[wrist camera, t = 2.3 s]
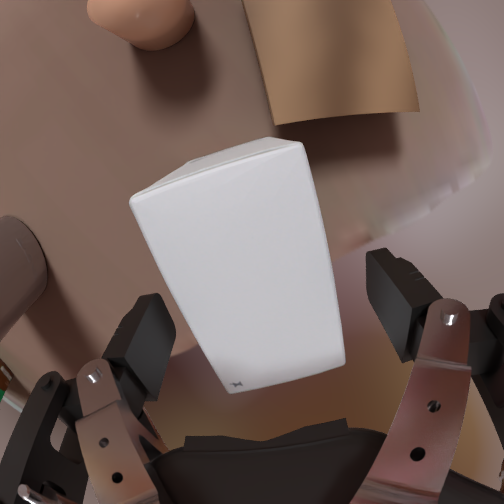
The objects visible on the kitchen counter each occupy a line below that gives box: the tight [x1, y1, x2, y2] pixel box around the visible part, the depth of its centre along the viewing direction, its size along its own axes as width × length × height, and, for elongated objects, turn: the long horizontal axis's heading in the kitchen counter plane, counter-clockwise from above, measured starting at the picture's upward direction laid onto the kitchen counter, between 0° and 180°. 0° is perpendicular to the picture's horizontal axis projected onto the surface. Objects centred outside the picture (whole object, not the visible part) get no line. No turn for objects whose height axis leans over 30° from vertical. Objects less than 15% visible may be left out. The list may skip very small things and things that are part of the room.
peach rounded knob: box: [87, 0, 195, 51], centre depth 11 cm, size 5×5×6 cm
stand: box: [241, 0, 420, 126], centre depth 12 cm, size 9×12×4 cm
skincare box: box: [129, 137, 346, 394], centre depth 15 cm, size 10×6×10 cm, turn 17°
